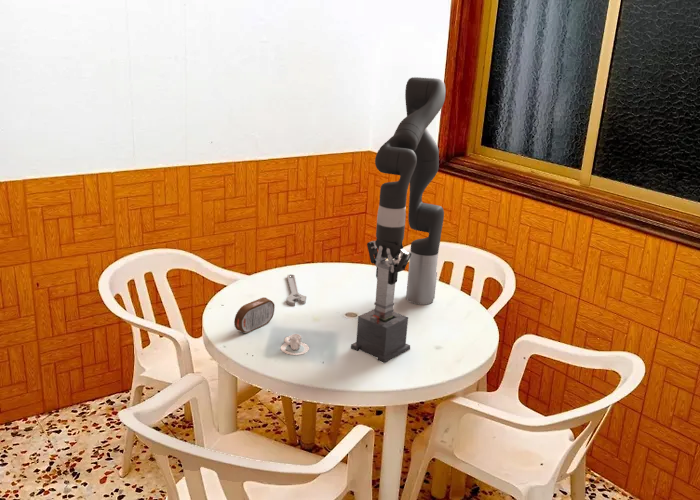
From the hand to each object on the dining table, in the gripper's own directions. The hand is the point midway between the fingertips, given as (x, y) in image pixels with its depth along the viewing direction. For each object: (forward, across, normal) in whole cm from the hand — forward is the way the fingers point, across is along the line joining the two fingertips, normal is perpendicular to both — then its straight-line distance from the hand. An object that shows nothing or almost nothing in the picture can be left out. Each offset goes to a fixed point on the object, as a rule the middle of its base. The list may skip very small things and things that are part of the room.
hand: (386, 281), depth 184 cm
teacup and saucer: (+21, +17, +15) cm, 31 cm away
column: (+14, 0, 0) cm, 14 cm away
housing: (+21, 0, 0) cm, 21 cm away
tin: (+21, +34, +17) cm, 43 cm away
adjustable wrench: (+21, +46, -12) cm, 52 cm away
